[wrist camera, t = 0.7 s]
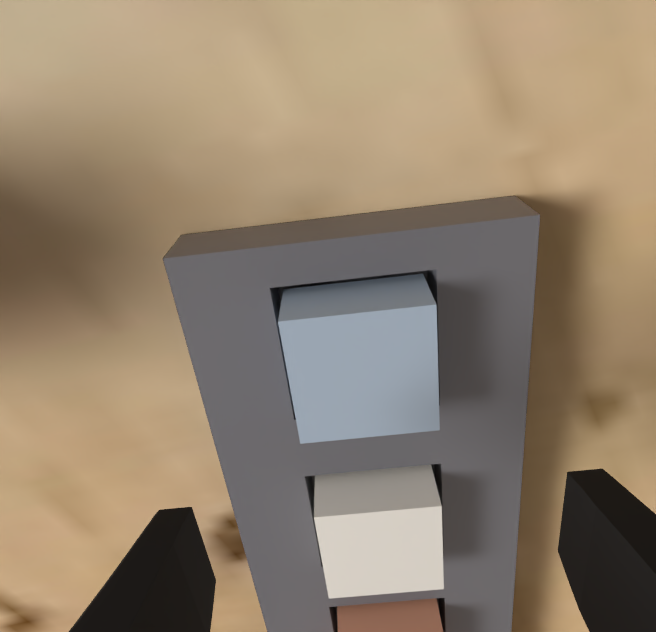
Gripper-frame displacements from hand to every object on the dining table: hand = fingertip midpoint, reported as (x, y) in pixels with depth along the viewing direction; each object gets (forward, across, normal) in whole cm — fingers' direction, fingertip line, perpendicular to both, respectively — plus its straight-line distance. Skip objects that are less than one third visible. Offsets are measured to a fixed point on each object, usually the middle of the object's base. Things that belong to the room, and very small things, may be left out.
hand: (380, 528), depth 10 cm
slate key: (+7, 0, 0) cm, 7 cm away
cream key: (+7, 0, +7) cm, 10 cm away
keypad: (+8, 0, +7) cm, 11 cm away
